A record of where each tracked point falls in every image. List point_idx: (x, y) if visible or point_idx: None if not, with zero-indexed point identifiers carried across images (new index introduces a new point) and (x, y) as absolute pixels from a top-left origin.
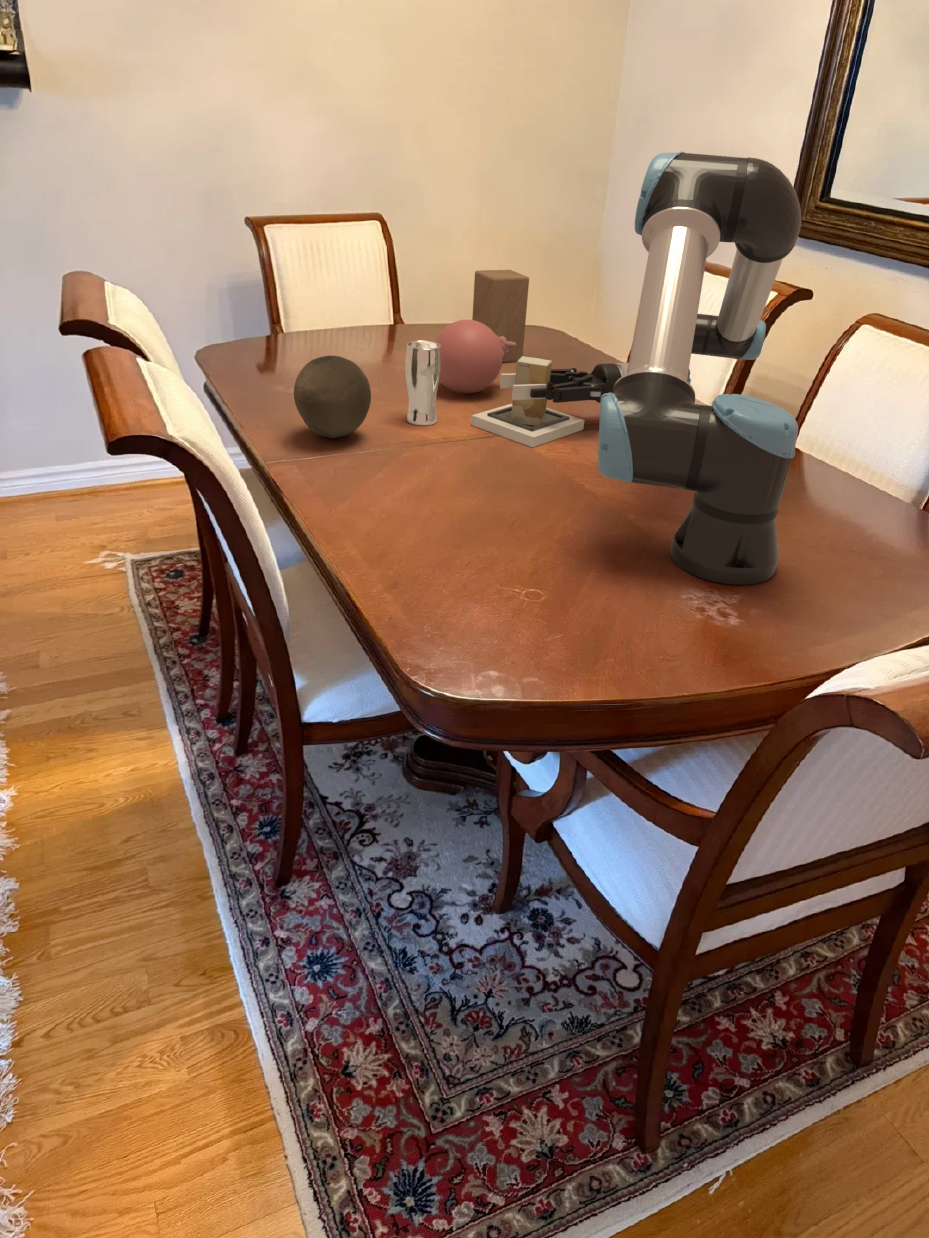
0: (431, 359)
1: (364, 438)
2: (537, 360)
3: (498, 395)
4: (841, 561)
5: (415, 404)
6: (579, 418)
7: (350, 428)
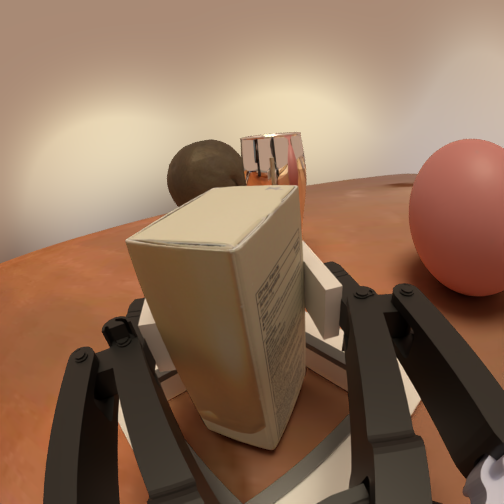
0: (243, 156)
1: None
2: (218, 208)
3: (488, 327)
4: None
5: None
6: None
7: None
